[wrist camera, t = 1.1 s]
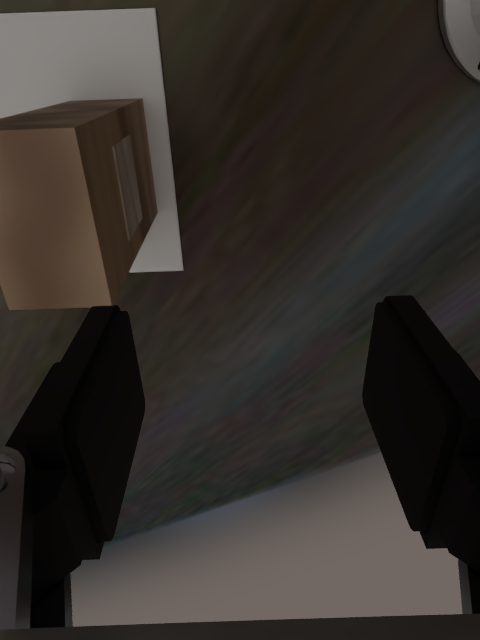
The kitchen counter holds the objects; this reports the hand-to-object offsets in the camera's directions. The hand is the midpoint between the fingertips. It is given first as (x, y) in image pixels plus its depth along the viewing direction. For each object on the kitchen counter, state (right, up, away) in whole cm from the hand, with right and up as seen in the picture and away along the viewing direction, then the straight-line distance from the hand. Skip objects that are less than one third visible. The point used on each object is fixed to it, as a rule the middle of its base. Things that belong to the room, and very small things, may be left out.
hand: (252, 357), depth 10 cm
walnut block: (-9, +13, +22) cm, 27 cm away
